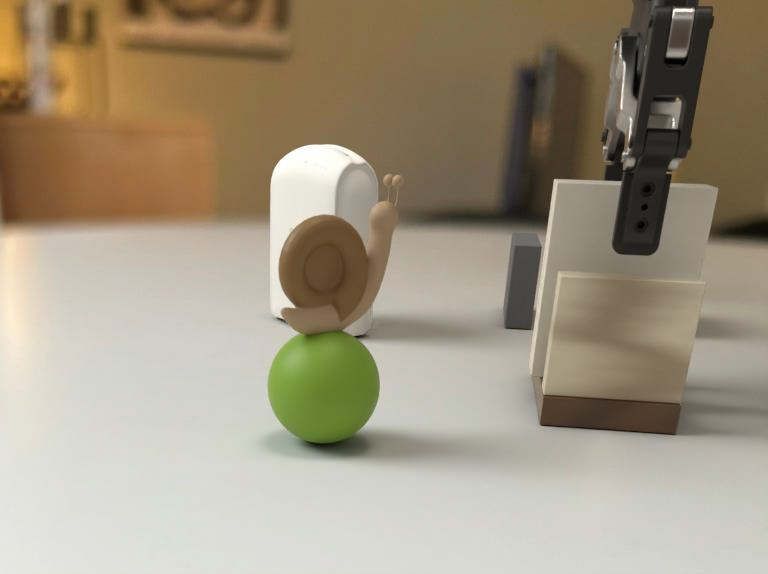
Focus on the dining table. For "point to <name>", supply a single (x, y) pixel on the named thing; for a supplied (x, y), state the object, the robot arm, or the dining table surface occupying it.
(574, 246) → the white book
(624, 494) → the dining table surface
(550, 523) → the dining table surface
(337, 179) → the white rounded block
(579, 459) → the dining table surface
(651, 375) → the wooden card holder
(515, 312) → the grey bookends
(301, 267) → the snail figurine
